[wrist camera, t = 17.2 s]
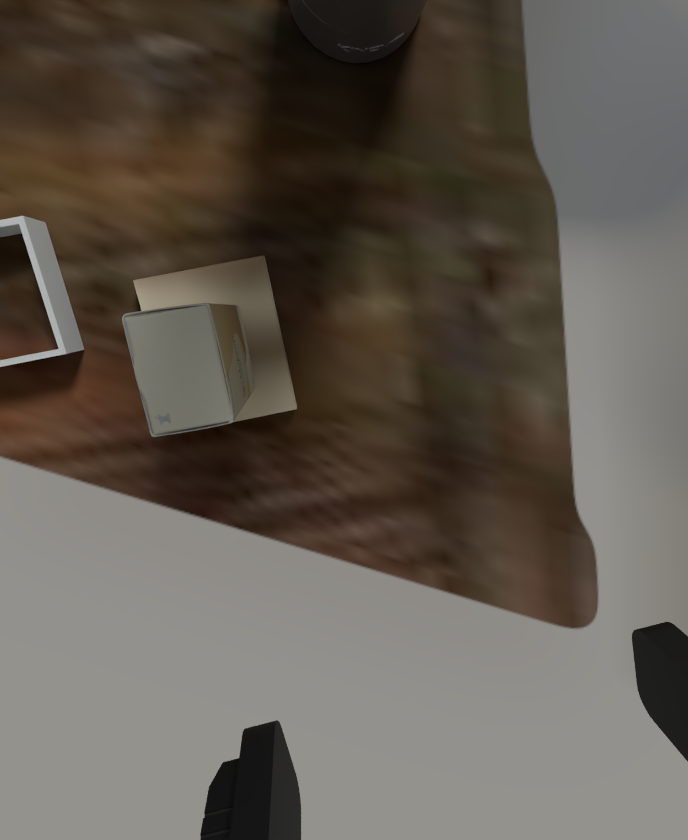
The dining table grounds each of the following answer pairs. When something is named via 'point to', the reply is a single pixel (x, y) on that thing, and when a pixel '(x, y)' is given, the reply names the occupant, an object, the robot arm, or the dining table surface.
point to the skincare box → (190, 365)
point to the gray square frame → (45, 287)
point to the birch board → (259, 316)
